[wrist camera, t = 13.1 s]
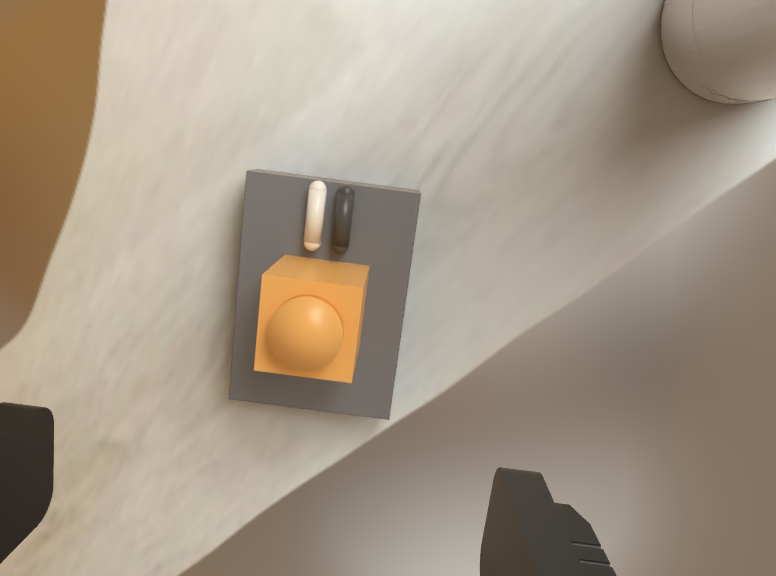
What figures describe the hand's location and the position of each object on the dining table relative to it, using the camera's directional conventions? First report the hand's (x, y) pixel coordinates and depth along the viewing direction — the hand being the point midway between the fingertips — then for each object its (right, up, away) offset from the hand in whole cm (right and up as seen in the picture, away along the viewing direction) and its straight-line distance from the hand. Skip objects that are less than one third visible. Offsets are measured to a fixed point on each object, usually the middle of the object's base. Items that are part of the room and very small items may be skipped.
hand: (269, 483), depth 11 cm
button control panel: (-2, +3, +28) cm, 28 cm away
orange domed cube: (-2, +3, +25) cm, 25 cm away
